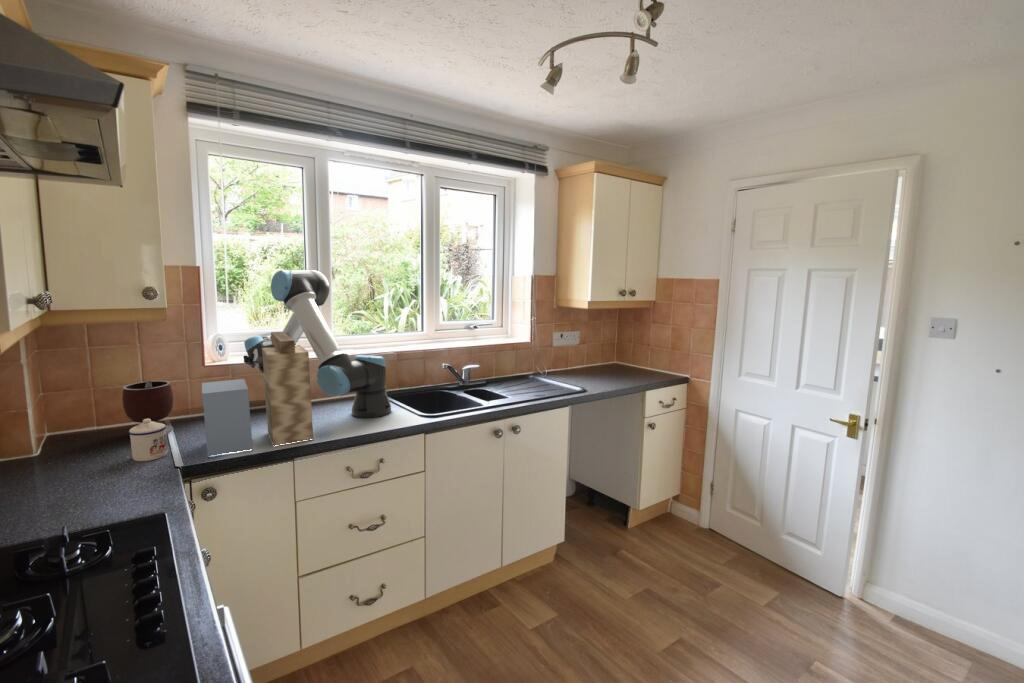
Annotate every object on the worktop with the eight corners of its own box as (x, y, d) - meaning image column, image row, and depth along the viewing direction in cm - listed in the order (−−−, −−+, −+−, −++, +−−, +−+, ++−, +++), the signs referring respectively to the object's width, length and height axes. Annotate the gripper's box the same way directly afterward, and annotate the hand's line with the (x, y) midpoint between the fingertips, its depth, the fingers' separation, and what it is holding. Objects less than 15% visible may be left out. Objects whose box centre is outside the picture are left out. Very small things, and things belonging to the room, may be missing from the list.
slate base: (248, 436, 168) (244, 378, 165) (252, 450, 155) (248, 388, 152) (207, 442, 162) (202, 383, 159) (207, 458, 148) (202, 393, 145)
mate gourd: (124, 432, 171) (118, 376, 168) (172, 424, 180) (167, 370, 177) (129, 444, 160) (122, 384, 157) (180, 434, 169) (174, 377, 166)
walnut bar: (283, 342, 179) (282, 331, 179) (295, 352, 158) (294, 340, 157) (271, 343, 177) (270, 332, 177) (281, 353, 155) (280, 341, 155)
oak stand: (304, 427, 177) (300, 345, 173) (313, 440, 164) (308, 351, 160) (267, 433, 171) (262, 348, 167) (273, 447, 158) (267, 355, 153)
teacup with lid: (155, 462, 145) (151, 424, 143) (124, 462, 145) (119, 424, 143) (181, 447, 157) (178, 412, 155) (152, 447, 157) (149, 412, 155)
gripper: (302, 371, 206) (313, 357, 189) (234, 378, 191) (240, 363, 175) (299, 354, 208) (310, 338, 191) (232, 360, 193) (237, 343, 176)
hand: (276, 350), depth 183 cm, fingers open, 13 cm apart
